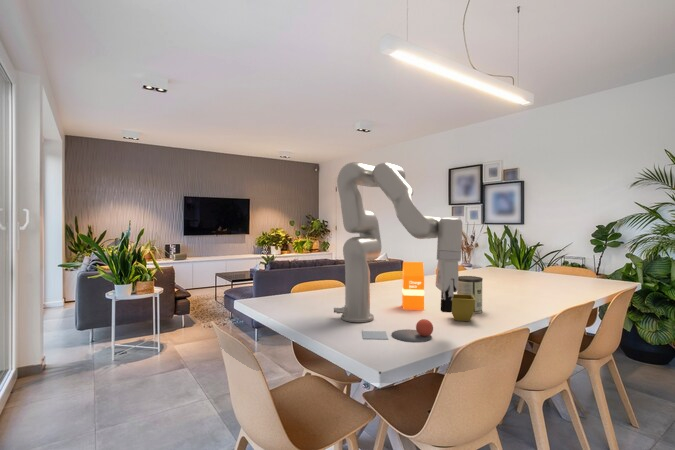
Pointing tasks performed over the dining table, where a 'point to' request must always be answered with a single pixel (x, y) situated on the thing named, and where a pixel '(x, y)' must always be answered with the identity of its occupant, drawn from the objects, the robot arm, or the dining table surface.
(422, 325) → the ball
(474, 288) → the coffee can
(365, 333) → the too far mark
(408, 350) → the dining table surface
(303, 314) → the dining table surface
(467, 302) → the flower pot
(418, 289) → the orange juice
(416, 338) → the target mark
